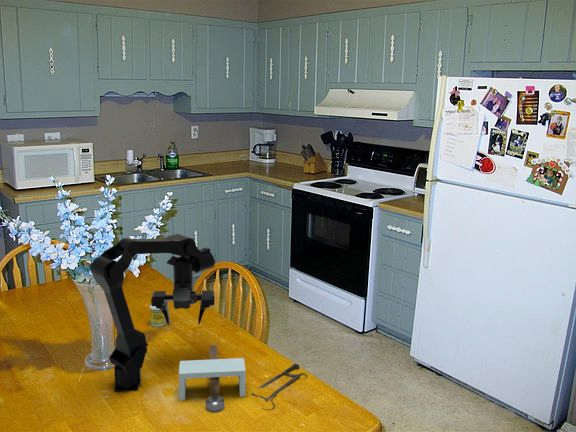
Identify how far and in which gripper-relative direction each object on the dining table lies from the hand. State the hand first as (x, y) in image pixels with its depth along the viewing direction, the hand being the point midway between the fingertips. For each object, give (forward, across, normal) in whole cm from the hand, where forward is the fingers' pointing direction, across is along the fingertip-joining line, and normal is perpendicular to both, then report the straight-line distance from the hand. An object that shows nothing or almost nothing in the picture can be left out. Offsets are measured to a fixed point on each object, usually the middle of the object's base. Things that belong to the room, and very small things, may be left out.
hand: (183, 324), depth 168 cm
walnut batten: (+12, +9, -11) cm, 19 cm away
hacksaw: (+12, +29, -18) cm, 36 cm away
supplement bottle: (+12, -11, +26) cm, 31 cm away
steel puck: (+12, +10, -26) cm, 31 cm away
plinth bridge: (+12, +9, -19) cm, 24 cm away
